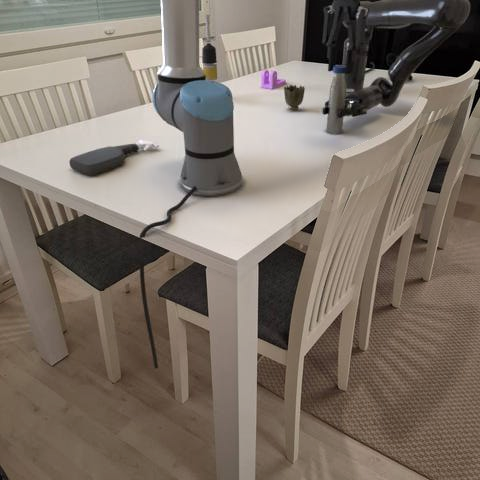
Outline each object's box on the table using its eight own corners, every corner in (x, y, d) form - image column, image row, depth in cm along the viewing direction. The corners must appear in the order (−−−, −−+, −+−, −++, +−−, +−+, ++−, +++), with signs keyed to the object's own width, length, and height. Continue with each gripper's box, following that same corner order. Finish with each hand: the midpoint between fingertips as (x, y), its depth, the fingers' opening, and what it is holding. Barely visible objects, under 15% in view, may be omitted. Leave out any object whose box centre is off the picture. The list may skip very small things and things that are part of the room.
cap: (344, 74, 130) (344, 68, 129) (330, 72, 132) (331, 67, 131) (348, 71, 133) (349, 65, 132) (335, 70, 135) (336, 64, 134)
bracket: (272, 88, 190) (272, 71, 187) (261, 87, 193) (261, 70, 189) (288, 83, 199) (288, 66, 195) (277, 81, 202) (278, 65, 198)
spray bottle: (67, 168, 120) (139, 144, 136) (91, 178, 114) (163, 151, 130) (65, 157, 118) (137, 134, 134) (89, 167, 112) (162, 142, 128)
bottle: (338, 135, 139) (345, 70, 129) (324, 132, 141) (329, 68, 131) (344, 130, 143) (350, 67, 133) (329, 128, 145) (335, 65, 135)
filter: (220, 99, 177) (217, 15, 161) (206, 100, 176) (202, 16, 160) (215, 96, 182) (212, 14, 166) (202, 97, 180) (197, 14, 164)
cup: (280, 111, 162) (280, 88, 158) (287, 106, 167) (288, 84, 163) (299, 113, 159) (300, 90, 155) (306, 108, 164) (308, 85, 160)
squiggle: (400, 92, 202) (376, 71, 205) (417, 76, 202) (392, 56, 205) (405, 81, 191) (380, 59, 194) (423, 64, 191) (397, 42, 194)
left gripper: (312, -19, 124) (307, 69, 136) (370, -18, 112) (359, 78, 125) (329, -20, 128) (322, 66, 140) (386, -19, 117) (373, 74, 129)
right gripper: (342, 86, 150) (312, 96, 139) (381, 93, 141) (353, 104, 131) (339, 109, 154) (311, 120, 143) (377, 116, 145) (350, 129, 135)
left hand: (339, 71), depth 132 cm, fingers open, 5 cm apart
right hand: (331, 112), depth 137 cm, fingers closed on bottle, 5 cm apart
